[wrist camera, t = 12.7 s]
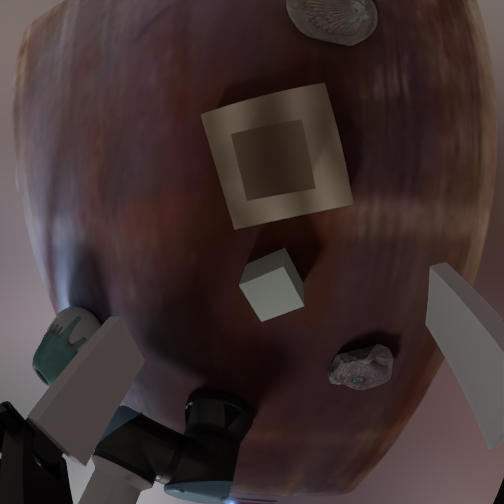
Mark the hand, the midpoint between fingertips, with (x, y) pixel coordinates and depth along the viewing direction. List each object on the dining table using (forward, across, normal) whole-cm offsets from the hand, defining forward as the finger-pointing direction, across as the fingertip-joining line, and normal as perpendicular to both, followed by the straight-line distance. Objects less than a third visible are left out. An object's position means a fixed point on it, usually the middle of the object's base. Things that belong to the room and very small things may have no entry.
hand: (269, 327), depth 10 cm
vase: (+28, -43, -16) cm, 54 cm away
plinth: (+27, +1, +6) cm, 27 cm away
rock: (+27, +8, -30) cm, 41 cm away
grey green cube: (+27, -3, -10) cm, 29 cm away
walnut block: (+22, +1, +6) cm, 23 cm away
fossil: (+26, +12, +23) cm, 37 cm away
